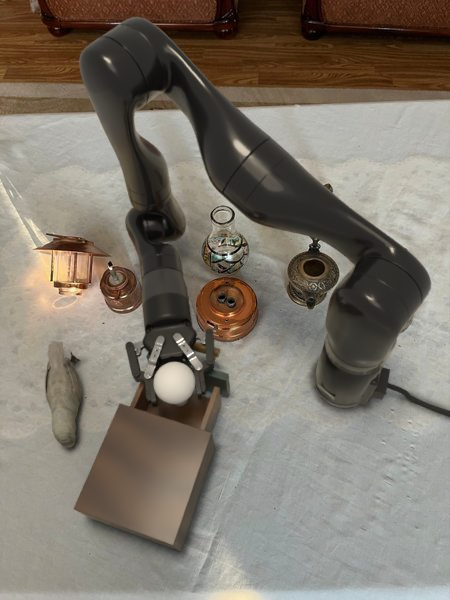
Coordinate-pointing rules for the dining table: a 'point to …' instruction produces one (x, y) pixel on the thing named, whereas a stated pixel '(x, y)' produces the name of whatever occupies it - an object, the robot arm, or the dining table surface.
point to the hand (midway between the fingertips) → (177, 401)
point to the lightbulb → (174, 383)
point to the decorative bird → (62, 393)
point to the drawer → (190, 398)
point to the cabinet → (148, 476)
